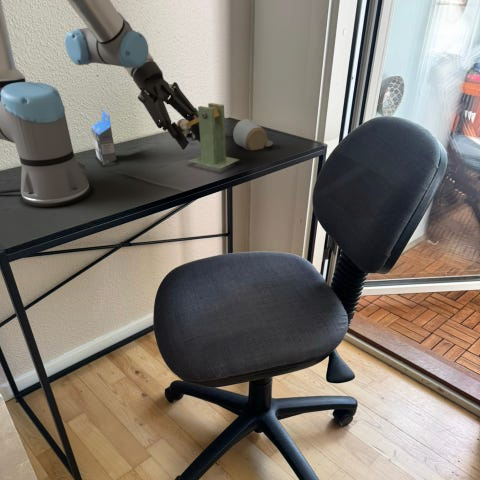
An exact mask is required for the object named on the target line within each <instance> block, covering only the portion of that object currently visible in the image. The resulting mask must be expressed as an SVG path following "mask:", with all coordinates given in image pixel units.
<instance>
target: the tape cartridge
mask: <svg viewBox="0 0 480 480" xmlns="http://www.w3.org/2000/svg"><path fill="white" fill-rule="evenodd" d="M111 125H112V124H111V117H110V116H109V115H108V114H107V113H106V112H105V111H104V110H103V109H101V119H100V120H99V121H98V122H96V123H94V124H92V126H91V127H90V130H91V135H92V140H93V145H94V148H95V154H96V158H97V159H98V160H99V162H100V163H101V164H102V165H103V166H105V165H106V164H110V163H112V162H115V161H117V154H116V149H115V143H114V137H113V132H112V126H111Z"/></svg>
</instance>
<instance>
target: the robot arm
mask: <svg viewBox="0 0 480 480" xmlns="http://www.w3.org/2000/svg"><path fill="white" fill-rule="evenodd" d="M66 1H67V3H68V4H69V5H70V7H71V8H72V9H73V10H74V12H75V13H76V14H77V15H78V17H79V18H80V19H81V21H82V23H84V25H85V26H86V27H84V28H76V29H74V30H70V31H68V32H67V33H66V35H65V36H64V37H65V38H64V46H65V50H66V53H67V55H68V57H69V59H70V61H72V63H73V64H75V65H77V66H88V65H89V64H101V65H109V66H117V67H122V68H124V69H125V70H126V72H127V73H128V75H129V76H130V78H132V81H133V82H134V84H135V85H136V86H137V88H138V89H139V91H140V92H139V94H138V96H137V99H138V101H139V102H141V104H143V106H144V107H145V109H146V111H147V113H148V114H149V116H150V118H151V119H152V120H153V122H154V124H155V125H156V127H157V128H158V129H161V130H163V131H164V132H166V131H167V132H168V133H169V135H170V136H171V137H172V138H173V139H174V140H175V141H176V142H177V144H178V145H179V146H180V148H181V150H185V149H186V148H187V146H188V145H189V144H190V142H189V140H188V139H187V137H185V135H184V134H183V133H182V132H181V130H180V129H179V127H178V126H177V125H176V124H177V122H175V121H173V122H172V119H171V117H170V115H169V112H168V109H167V106H166V105H169V106H170V107H172V109H174V110H175V111H176V112H177V113H178V114H179V115H180V116H181V117H182V118H183V119H186V120H188V121H189V122H190V121H192V120H194V119H195V117H194V115H195V114H196V112H197V110H198V109H197V108H196V107H195V106H194V105H193V104H192V102H191V101H190V100H189V98H187V96H186V95H185V94H184V92H183V91H182V90H181V88H180V87H179V84H178V83H177V82H176V81H174V82H173V83H169V82H167V80H165V79H164V73H163V70H161V68H160V66H159V65H158V64H157V62H156V61H154V58H153V56H152V55H151V53H150V51H149V44H148V41H147V39H146V37H145V36H144V35H143V34H142V33H141V32H139V31H136V30H133V28H132V27H131V24H130V23H129V22H128V21H127V20H126V19H125V17H124V16H123V14H121V13H120V12H119V11H118V10H117V8H116V7H115V6H114V4H113V3H112V1H111V0H66ZM195 108H196V109H197V110H196V109H195ZM187 114H188V115H187ZM191 131H192V132H193V134H194V135H195V137H196V138H195V139H197V141H198V143H200V128H199V123H196V124H194V125H192V126H191ZM191 131H190V132H191ZM192 132H191V133H192ZM0 140H3V141H7V142H9V143H12V144H14V145H15V148H16V151H17V152H16V153H17V155H18V158H19V161H20V165H21V175H20V187H17V188H16V187H15V188H5V189H0V195H1V194H9V193H20V194H21V197H22V201H23V202H24V203H25V204H27V205H29V206H31V207H37V208H39V207H40V208H51V207H52V208H54V207H61V206H65V205H66V206H67V205H69V204H73V203H76V202H78V201H81V200H82V199H84V198H86V197H87V196H89V194H90V193H91V187H90V184H89V181H88V179H87V177H86V175H85V173H84V172H83V170H84V171H87V169H86V165H85V164H83V163H81V162H79V161H77V160H76V156H75V153H74V148H73V144H72V139H71V134H70V131H69V125H68V120H67V117H66V108H65V105H64V103H63V100H62V97H61V94H60V92H59V90H58V89H56V88H55V87H54V86H52V85H50V84H47V83H45V82H44V83H43V82H33V81H26V78H25V75H24V74H23V73H22V72H21V71H20V70H19V69H18V68H17V66H16V63H15V58H14V54H13V50H12V44H11V40H10V34H9V30H8V25H7V20H6V16H5V11H4V5H3V1H2V0H0Z"/></svg>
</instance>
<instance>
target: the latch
mask: <svg viewBox="0 0 480 480" xmlns="http://www.w3.org/2000/svg"><path fill="white" fill-rule="evenodd" d="M211 108H214V116H215V118H216V117H218V116H220V115H219V112H218V110H217V107H216V106H214V107H211ZM198 122H199V117H198V118H196V119H194V120H192V121H190V122H189V121H188V120H186V119H185V118H181V119H179V120H178V121H176V125H177V126H178V127H179V129H180V130H181V132H182V133H183V134H184V136H185V135H186V134H187V135H189V134H190V133H191V131H190V130H191V126H192V125H194V124H196V123H198ZM189 132H190V133H189ZM188 133H189V134H188Z"/></svg>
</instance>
